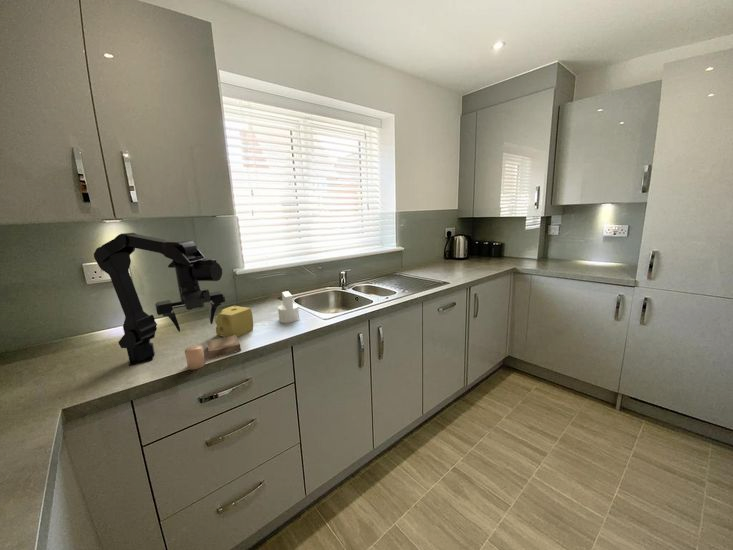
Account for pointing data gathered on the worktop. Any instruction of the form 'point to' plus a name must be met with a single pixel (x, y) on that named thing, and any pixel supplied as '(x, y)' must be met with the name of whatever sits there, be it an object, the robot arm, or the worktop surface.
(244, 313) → the cheese
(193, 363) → the terracotta cylinder
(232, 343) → the walnut base
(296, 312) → the base with upright slab
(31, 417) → the worktop surface
